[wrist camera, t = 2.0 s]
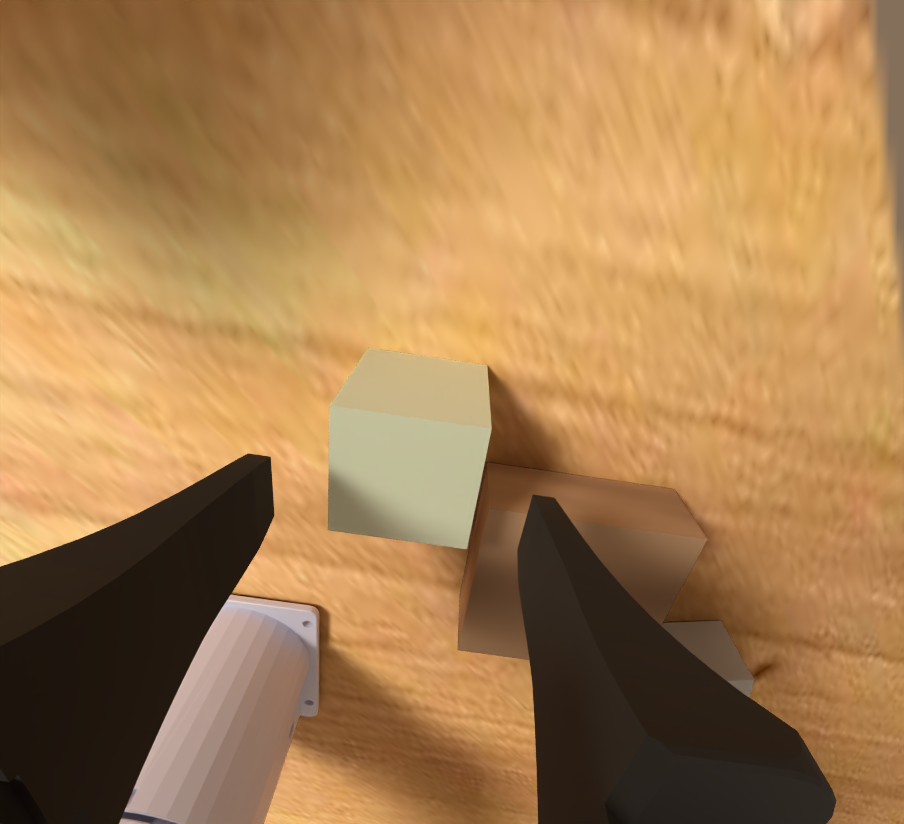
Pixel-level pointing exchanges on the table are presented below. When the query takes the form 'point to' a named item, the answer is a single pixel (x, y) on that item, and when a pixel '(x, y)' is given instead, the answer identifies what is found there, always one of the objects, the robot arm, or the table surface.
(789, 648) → the table surface
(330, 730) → the table surface
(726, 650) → the slate block
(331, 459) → the sage block
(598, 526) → the walnut block
